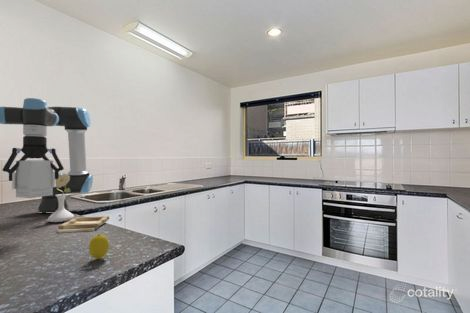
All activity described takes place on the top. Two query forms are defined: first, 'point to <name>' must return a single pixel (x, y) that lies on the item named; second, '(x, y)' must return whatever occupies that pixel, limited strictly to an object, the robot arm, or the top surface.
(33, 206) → the top surface
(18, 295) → the top surface
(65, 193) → the robot arm
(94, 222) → the tray
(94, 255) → the lemon
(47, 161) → the supplement box
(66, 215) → the flower in vase
